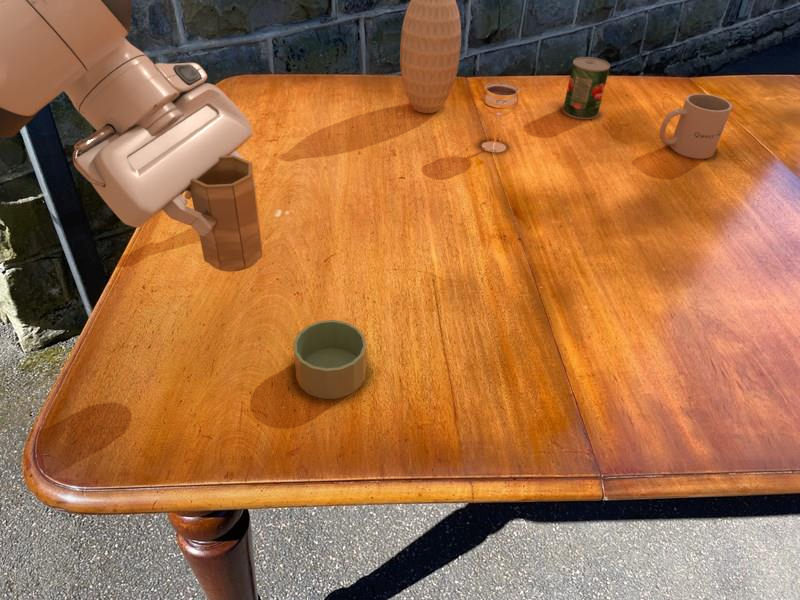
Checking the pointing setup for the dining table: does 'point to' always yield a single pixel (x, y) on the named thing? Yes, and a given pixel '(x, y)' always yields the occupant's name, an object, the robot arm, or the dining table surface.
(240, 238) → the octagonal wooden container
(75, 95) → the robot arm
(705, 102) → the mug
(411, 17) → the vase
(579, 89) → the canned tomato
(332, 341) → the gray bowl
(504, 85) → the wineglass
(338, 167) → the dining table surface
